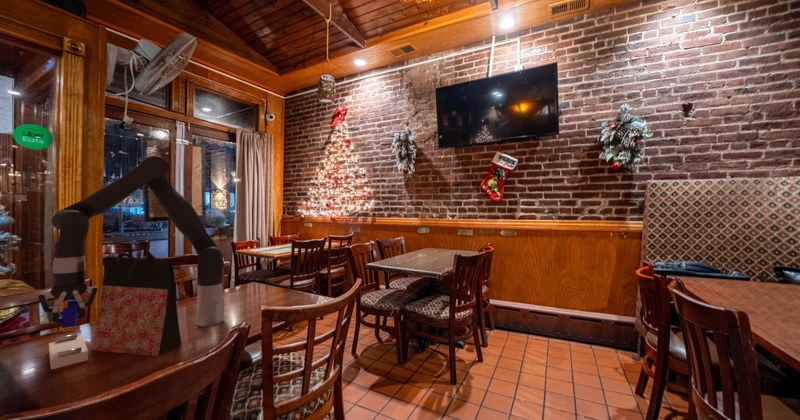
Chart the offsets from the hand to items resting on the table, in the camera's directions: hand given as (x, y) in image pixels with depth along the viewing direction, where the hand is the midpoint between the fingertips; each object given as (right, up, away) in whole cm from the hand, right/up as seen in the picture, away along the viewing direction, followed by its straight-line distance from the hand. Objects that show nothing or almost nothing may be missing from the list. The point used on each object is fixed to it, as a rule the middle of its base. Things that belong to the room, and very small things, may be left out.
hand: (68, 320), depth 104 cm
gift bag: (+18, -12, +7) cm, 23 cm away
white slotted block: (0, -12, 0) cm, 12 cm away
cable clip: (0, -1, 0) cm, 1 cm away
